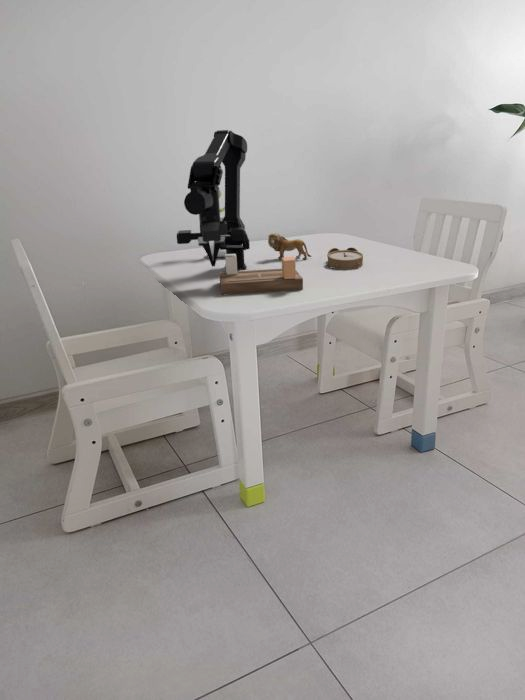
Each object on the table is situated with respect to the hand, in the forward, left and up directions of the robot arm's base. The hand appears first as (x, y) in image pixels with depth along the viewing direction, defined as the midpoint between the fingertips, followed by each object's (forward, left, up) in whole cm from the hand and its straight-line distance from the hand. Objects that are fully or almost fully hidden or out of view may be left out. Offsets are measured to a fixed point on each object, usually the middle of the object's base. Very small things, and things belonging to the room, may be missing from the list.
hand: (213, 266), depth 144 cm
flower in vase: (-39, +4, -6) cm, 40 cm away
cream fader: (0, +5, -2) cm, 6 cm away
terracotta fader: (+9, +20, -2) cm, 22 cm away
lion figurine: (-27, +26, -6) cm, 38 cm away
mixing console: (+5, +13, -6) cm, 14 cm away
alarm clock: (-16, +43, -6) cm, 46 cm away
